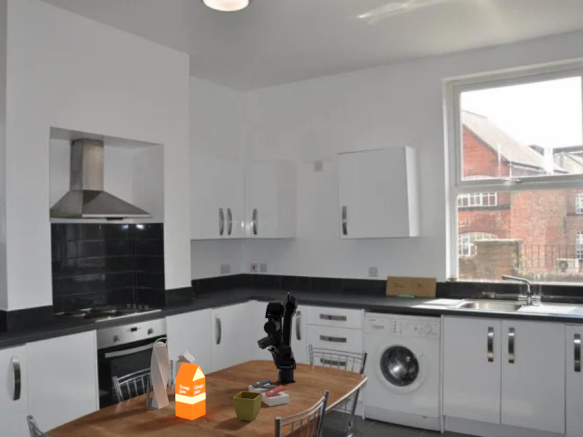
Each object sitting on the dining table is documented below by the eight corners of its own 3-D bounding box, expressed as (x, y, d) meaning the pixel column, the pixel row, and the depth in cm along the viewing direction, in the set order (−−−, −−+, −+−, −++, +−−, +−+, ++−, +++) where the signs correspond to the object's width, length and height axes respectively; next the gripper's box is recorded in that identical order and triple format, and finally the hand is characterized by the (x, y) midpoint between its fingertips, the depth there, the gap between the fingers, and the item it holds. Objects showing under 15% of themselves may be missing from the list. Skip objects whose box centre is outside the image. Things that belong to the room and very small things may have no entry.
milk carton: (195, 392, 237) (195, 349, 238) (191, 397, 230) (190, 353, 231) (180, 392, 238) (180, 349, 239) (175, 397, 231) (175, 353, 232)
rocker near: (267, 380, 239) (267, 378, 238) (271, 382, 235) (270, 379, 235) (251, 385, 235) (251, 383, 235) (255, 388, 232) (254, 385, 232)
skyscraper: (160, 402, 225) (160, 336, 226) (174, 405, 220) (173, 338, 221) (145, 408, 218) (144, 339, 219) (158, 411, 213) (157, 341, 214)
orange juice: (192, 420, 202) (191, 367, 203) (175, 416, 207) (175, 364, 207) (205, 414, 209) (205, 362, 209) (189, 410, 213) (188, 360, 214)
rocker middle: (274, 387, 232) (275, 384, 232) (278, 389, 229) (278, 386, 229) (258, 386, 229) (258, 384, 229) (261, 388, 226) (262, 386, 226)
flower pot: (263, 416, 205) (262, 392, 206) (254, 423, 197) (254, 399, 197) (242, 413, 208) (242, 390, 209) (232, 421, 200) (232, 397, 200)
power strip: (261, 386, 246) (261, 379, 246) (289, 402, 221) (289, 395, 221) (243, 389, 241) (243, 382, 241) (270, 406, 217) (269, 398, 217)
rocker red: (281, 387, 226) (281, 384, 226) (285, 389, 223) (284, 387, 223) (265, 395, 222) (264, 392, 222) (269, 397, 219) (268, 394, 219)
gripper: (251, 328, 240) (251, 363, 240) (268, 335, 224) (269, 372, 223) (273, 326, 246) (273, 360, 245) (292, 332, 229) (292, 369, 229)
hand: (276, 365), depth 235 cm, fingers closed
